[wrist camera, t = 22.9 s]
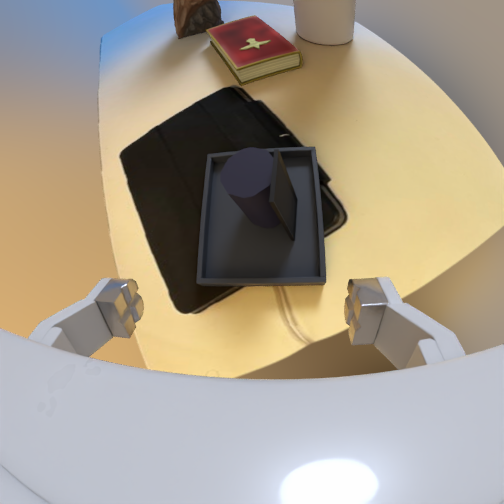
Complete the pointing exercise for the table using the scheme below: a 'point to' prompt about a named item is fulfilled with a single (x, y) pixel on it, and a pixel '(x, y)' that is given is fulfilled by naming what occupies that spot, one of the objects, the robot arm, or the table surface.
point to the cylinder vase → (325, 20)
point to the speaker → (261, 188)
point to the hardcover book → (253, 49)
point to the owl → (196, 16)
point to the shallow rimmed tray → (262, 231)
